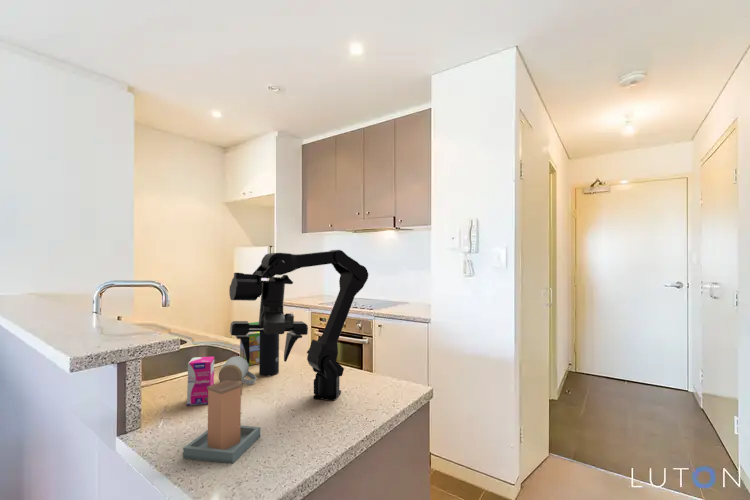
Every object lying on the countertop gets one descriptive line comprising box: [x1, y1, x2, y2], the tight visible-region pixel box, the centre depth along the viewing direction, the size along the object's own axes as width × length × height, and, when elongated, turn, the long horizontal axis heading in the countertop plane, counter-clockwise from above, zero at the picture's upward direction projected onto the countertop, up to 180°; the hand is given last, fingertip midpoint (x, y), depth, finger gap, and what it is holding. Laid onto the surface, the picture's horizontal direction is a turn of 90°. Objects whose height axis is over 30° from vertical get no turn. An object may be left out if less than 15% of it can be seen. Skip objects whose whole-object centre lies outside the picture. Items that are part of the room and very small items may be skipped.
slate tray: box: [182, 425, 262, 465], centre depth 73 cm, size 11×11×2 cm
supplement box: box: [186, 355, 215, 407], centre depth 97 cm, size 6×6×12 cm
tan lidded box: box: [207, 380, 243, 450], centre depth 73 cm, size 5×5×12 cm
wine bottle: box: [258, 327, 280, 377], centre depth 122 cm, size 6×6×30 cm
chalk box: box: [239, 321, 260, 366], centre depth 136 cm, size 9×9×15 cm
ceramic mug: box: [218, 355, 257, 386], centre depth 111 cm, size 11×8×8 cm
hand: (266, 362), depth 91 cm, fingers open, 9 cm apart
